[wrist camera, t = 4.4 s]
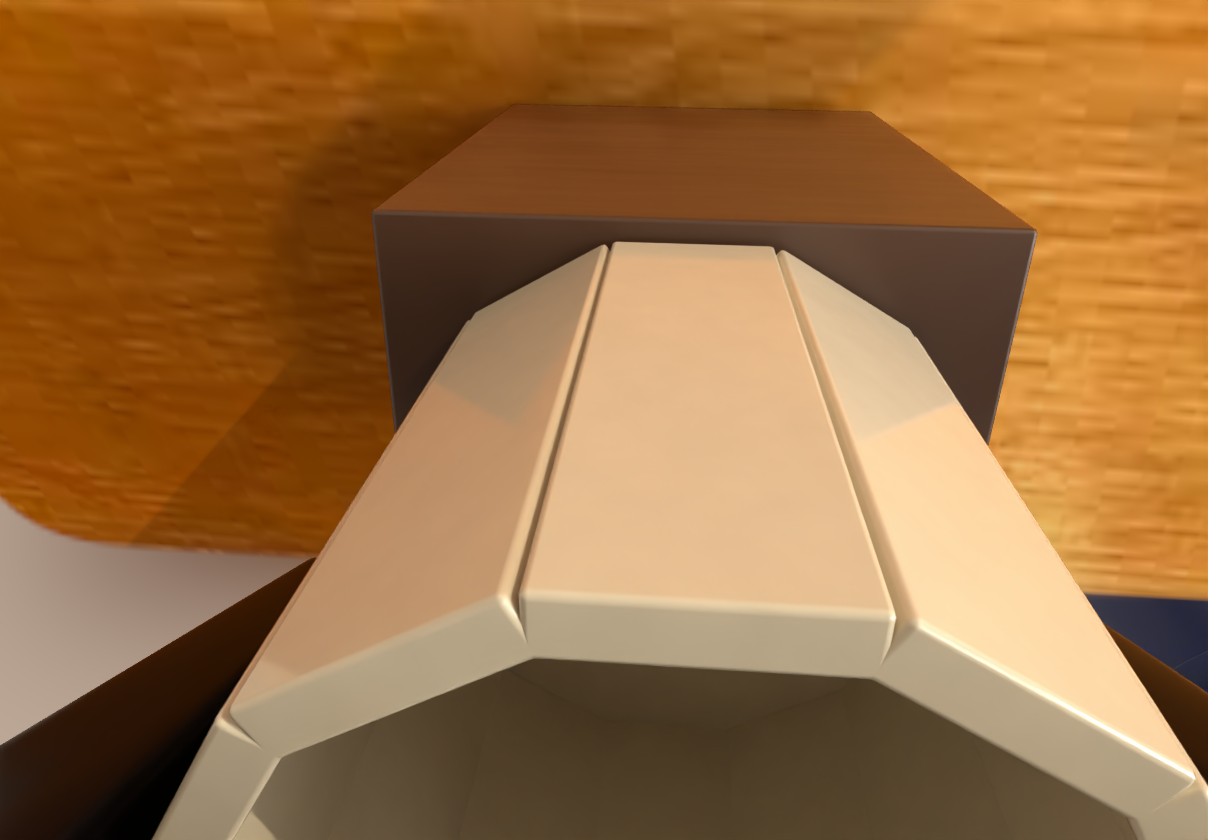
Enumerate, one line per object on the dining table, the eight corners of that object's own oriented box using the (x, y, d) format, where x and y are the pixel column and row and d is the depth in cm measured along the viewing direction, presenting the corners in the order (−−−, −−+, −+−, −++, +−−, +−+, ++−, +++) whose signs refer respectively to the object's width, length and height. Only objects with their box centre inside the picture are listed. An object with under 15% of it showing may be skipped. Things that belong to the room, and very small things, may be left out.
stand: (827, 434, 20) (922, 734, 12) (523, 420, 21) (421, 701, 13) (872, 111, 17) (1040, 229, 9) (513, 103, 18) (369, 210, 10)
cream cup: (911, 730, 12) (1093, 1333, 7) (431, 697, 12) (241, 1240, 7) (1016, 252, 9) (1497, 651, 4) (383, 233, 10) (-2, 562, 4)
